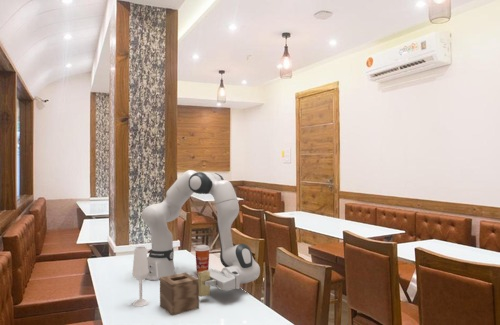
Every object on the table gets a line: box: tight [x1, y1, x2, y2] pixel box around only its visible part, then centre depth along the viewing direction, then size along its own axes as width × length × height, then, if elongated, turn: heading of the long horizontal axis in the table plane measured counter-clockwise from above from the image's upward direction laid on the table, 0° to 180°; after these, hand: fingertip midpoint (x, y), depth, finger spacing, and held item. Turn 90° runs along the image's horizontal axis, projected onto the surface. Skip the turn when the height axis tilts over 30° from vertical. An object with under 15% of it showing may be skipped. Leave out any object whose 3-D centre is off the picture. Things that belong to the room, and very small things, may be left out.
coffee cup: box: [194, 244, 211, 276], centre depth 203 cm, size 8×8×15 cm
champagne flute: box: [132, 245, 150, 307], centre depth 162 cm, size 7×7×24 cm
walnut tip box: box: [159, 272, 200, 316], centre depth 157 cm, size 12×12×12 cm
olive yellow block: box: [197, 271, 211, 298], centre depth 164 cm, size 4×2×10 cm, turn 126°
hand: (202, 282), depth 164 cm, fingers closed on olive yellow block, 2 cm apart
